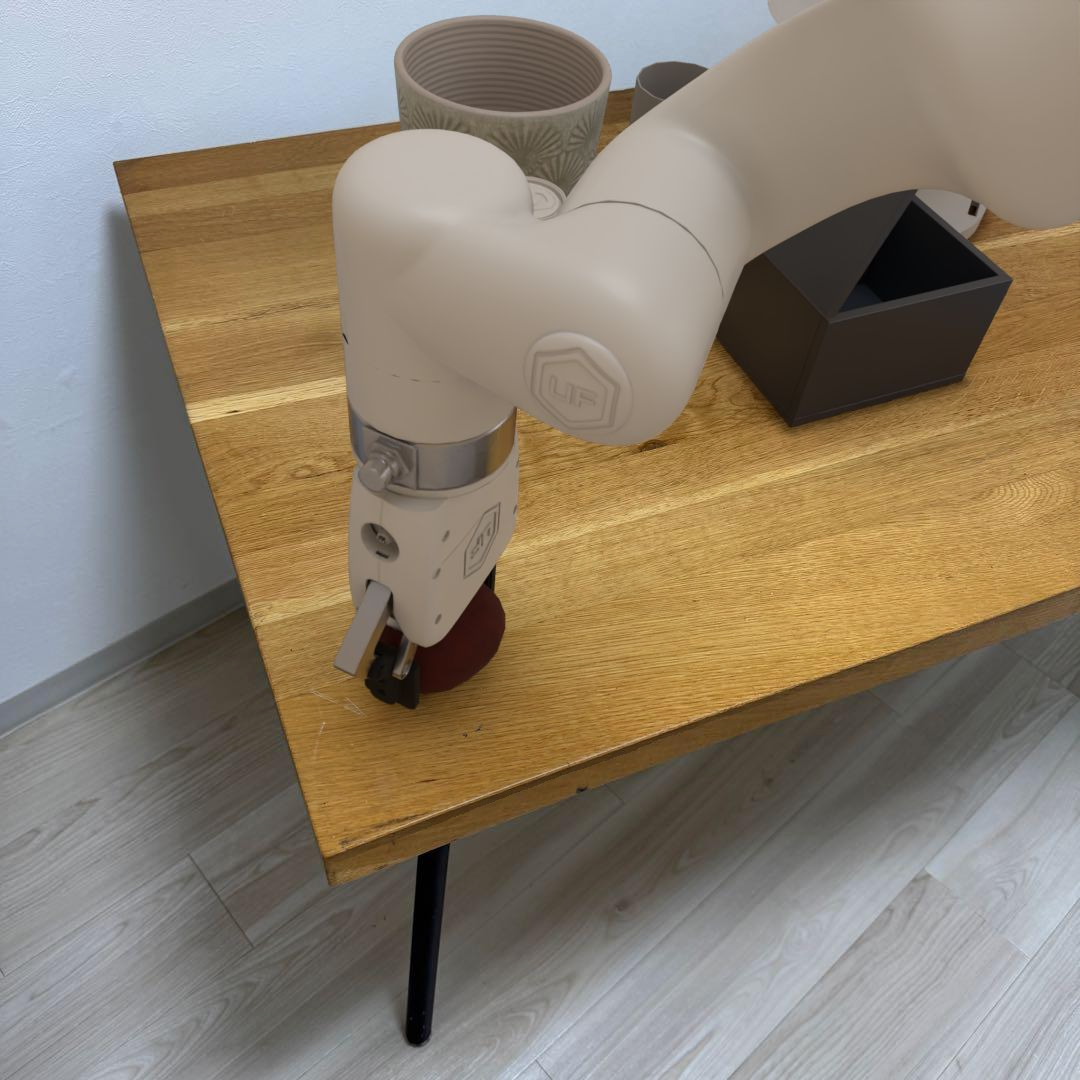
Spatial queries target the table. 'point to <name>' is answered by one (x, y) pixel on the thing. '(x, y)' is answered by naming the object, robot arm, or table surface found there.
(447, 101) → the planter
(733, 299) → the open box
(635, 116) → the cup
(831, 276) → the box lid
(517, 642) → the table surface
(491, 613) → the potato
